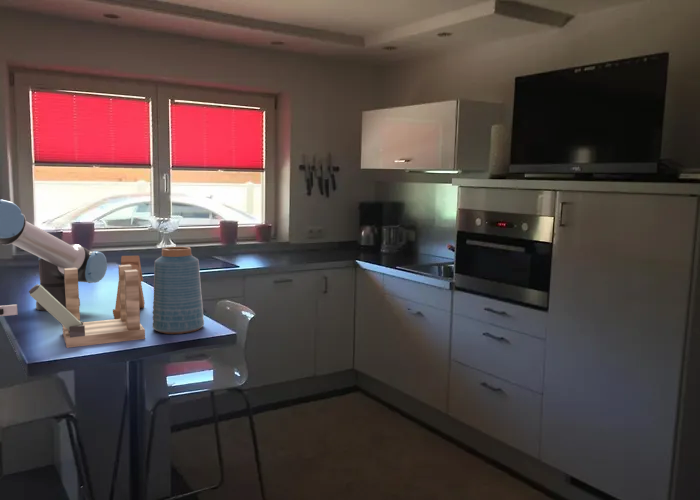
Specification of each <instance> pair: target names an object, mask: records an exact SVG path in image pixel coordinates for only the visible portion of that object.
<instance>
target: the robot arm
mask: <svg viewBox="0 0 700 500" xmlns="http://www.w3.org/2000/svg"><path fill="white" fill-rule="evenodd" d="M0 245H2V246H8V245H13V246H15V247H17V248H20V249H21V250H24V251H25V252H28V253H30V254H32V255H34V256H36V257H38V259H37V260H38V261H37V262H38V272H39V274H38V275H39V285H41V286H42V287H44V288H45V289H46V290H47V291H48V292H49V293H50V294H51V295H52V296H53V297H54V298H55V299H56V300H58V301H59V302H60V303H61V304H62V305H63V306H64V307H65V308H66V298H65V278H64V268H77V269H78V283H79V282H80V283H88V284H93V283H94V284H95V283H99V282H101V280H103V279H104V277H105V276H106V273H107V270H108V262H107V257H106V256H105V254H104V253H103V252H101V251H98V250H89V249H88V248H86V247H84V246H82V245H80V244H77V243H74V244H73V243H72V244H70V243H68V242H66V241H64V240H62V239H60V238H59V237H57V236H54V235H53V234H51V233H49V232H47V231H46V230H44V229H41V228H40V227H39V226H36V225H34V224H33V223H30V222H29V221H27V218H26V216H25V214H24V213H22V210H21V208H20V206H18V205H17V204H16V203H15V202H12V201H11V200H10V201H9V200H6V199H0ZM80 299H81V298H79V307H80V306H81V300H80ZM35 309H36V310H38V311H43V312H48V311H47V310H46V309H45V308H44V307H43V306H41V305H40V304H39V303H38V302H37V301H36V300H35ZM15 315H17V316H18V304H7V305H6V304H4V305H0V317H7V316H15Z"/></svg>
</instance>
